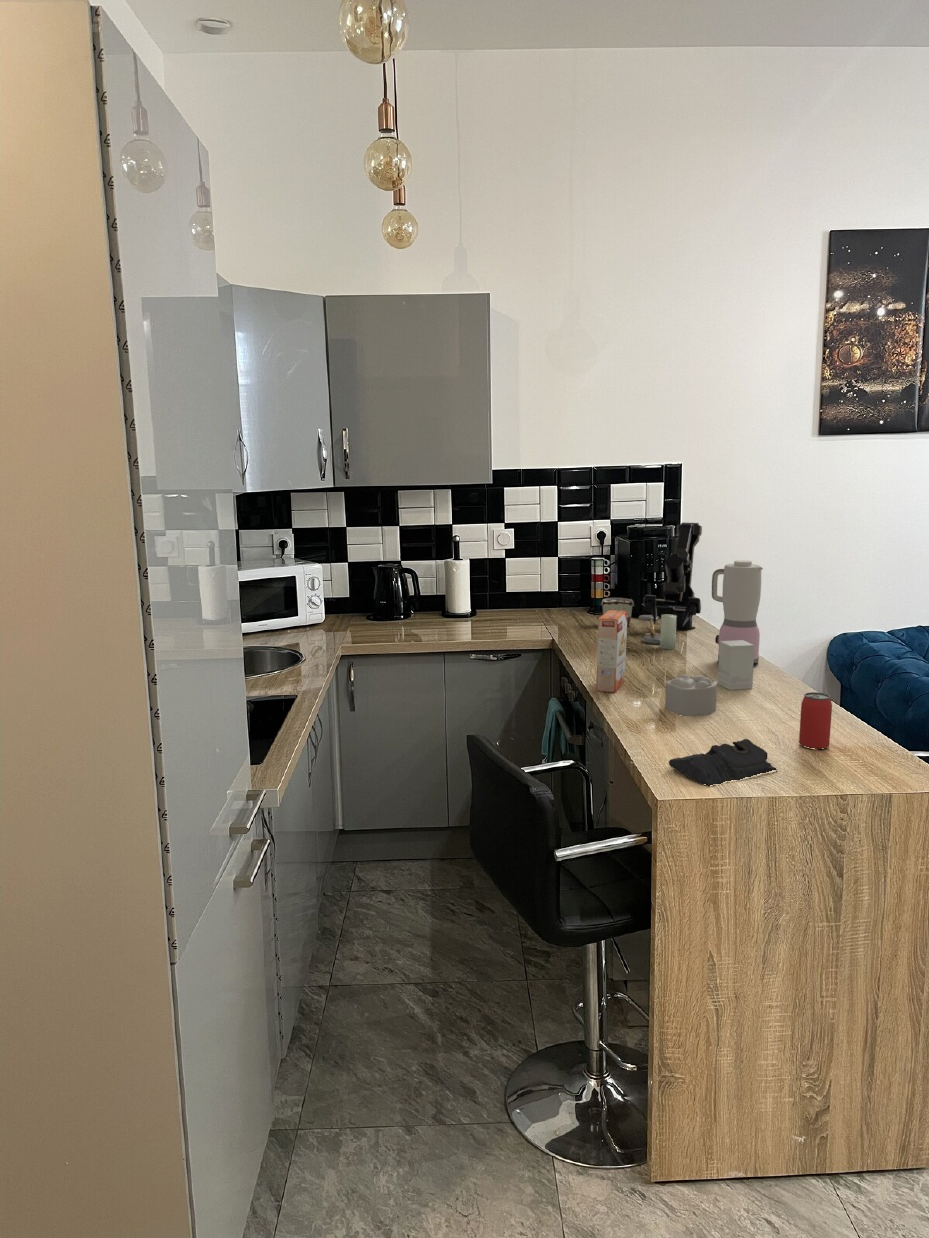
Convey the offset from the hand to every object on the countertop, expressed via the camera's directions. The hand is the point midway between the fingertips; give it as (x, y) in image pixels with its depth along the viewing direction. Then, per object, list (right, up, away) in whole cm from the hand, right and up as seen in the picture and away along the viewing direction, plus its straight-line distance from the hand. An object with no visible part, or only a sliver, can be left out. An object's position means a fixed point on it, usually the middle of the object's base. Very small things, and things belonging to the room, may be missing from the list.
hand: (668, 624), depth 316 cm
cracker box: (-26, -18, -47) cm, 57 cm away
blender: (+16, -12, -19) cm, 28 cm away
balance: (-2, -5, +18) cm, 18 cm away
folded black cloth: (-13, -31, -113) cm, 118 cm away
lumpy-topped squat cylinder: (-9, -22, -70) cm, 74 cm away
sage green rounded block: (0, -8, +1) cm, 8 cm away
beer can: (+12, -27, -99) cm, 104 cm away
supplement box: (+9, -17, -47) cm, 51 cm away
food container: (-11, -1, +40) cm, 41 cm away
